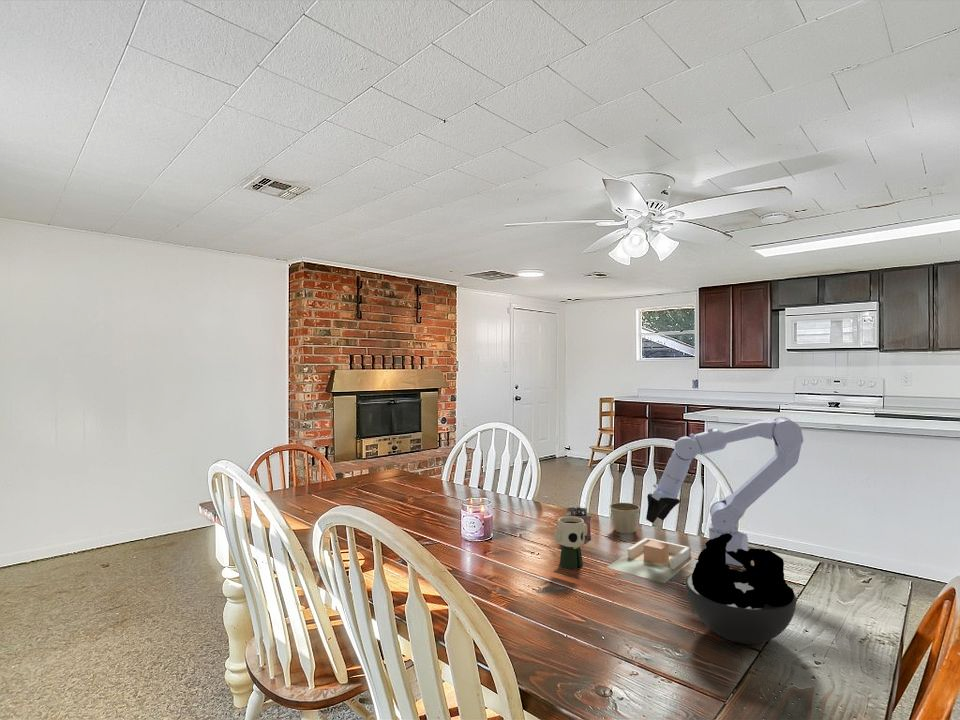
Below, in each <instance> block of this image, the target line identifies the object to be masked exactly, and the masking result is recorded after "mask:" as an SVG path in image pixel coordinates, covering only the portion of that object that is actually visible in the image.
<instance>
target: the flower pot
mask: <svg viewBox="0 0 960 720" xmlns="http://www.w3.org/2000/svg"><path fill="white" fill-rule="evenodd" d="M609 508H610V512H611V513H612V519H613V520H612V521H613V526H614V531H616V532H617V533H622V534H634V533H635V532H636V528H637V519H638V514H639V511H640V509H641V507H640V506H639V504H638V505H637V504H635V503H630V502H615V503H611V504H610V505H609Z"/></svg>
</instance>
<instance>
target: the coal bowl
mask: <svg viewBox="0 0 960 720" xmlns="http://www.w3.org/2000/svg"><path fill="white" fill-rule="evenodd" d="M732 537H733V536H732V535H731V534H728V533H726V534H722V535H720V536H719V537H716V538H714V539H709V538H708V540H707V541H706V542H705V548H703V549H702V550H701V551H700V553H699V554H698V557H697V562H696V563H695V566H694V568H693V571H692V573H690V574H688V576H687V577H686V579H685V581H684V583H685V590H686V591H685V592H686V595H687V598H688V601H689V603H690V606H691V608H692V610H693V611H694V613H695V614H696V616H697V617H698V619H700V621H701V622H702V623H703V624H704V625H705V626H706V628H708V629H710V630H711V631H712V632H713V633H715V634H716V635H718V636H720V637H722V638H724V639H726V640H727V641H731V642H735V643H738V644H739V643H740V644H744V645H745V644H746V645H755V644H762V643H765V642H768V641H771V640H773V639H774V638H776V637H778V636H780V634H781V633H783V632H784V631H785V630H786V628H787V627H788V626H790V625H789V624H790V623H791V622H792V619H793V617H794V614H795V612H796V607H797V596H796V594H795V592H794V589H793V588H792V587H791V586H789V585H788V583H787V581H786V579H785V572H784V571H785V570H784V568H785V567H784V566H785V561H784V559H783V558H782V557H781V556H779V555H778V554H776V553H774V552H773V551H772V550H770V549H767V550H766V549H764V548H748V551H745V550H743V549H737V552H734V551H726V546H727V543H728V542H729V541H730V540H731V539H732ZM726 553H727V554H729V555H730V556H731V557H732V558H733V559H735V560H736V561H738V562H739V563H741V564H742V565H743V566H744V568H745V569H744V570H741V569H740V570H738V569H735V568H730V566H729V564H727V563H726ZM752 561H753V565H752V563H751V562H752Z"/></svg>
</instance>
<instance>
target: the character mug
mask: <svg viewBox="0 0 960 720" xmlns="http://www.w3.org/2000/svg"><path fill="white" fill-rule="evenodd" d="M553 535H554V537H553V538H554V539H553V540H554V542H555V543H558V544H559V545H561V551H560V558H559V566H560V567H561V568H564V569H568V570H577V569H578V567H579V569H582V568H583V567H584V565H583V564H584V562H583V556H582V555H583V554H582V549H581V547H582V546H583V545H584V543H585V542H586V540H585V536H586V535H587V525H586V524H584V520H583V519H581V518H578V517H565V516H562V517H559V518H558V519H557V529H554V534H553Z"/></svg>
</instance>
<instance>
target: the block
mask: <svg viewBox="0 0 960 720" xmlns="http://www.w3.org/2000/svg"><path fill="white" fill-rule="evenodd" d="M668 559H669V544H666V543H661V542H657V541H652V540H651V541H649V542H648V543H646V544H644V560H648V561H652V562H656V563H660V564H662V563H664V562H665V561H666V560H668Z"/></svg>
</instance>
